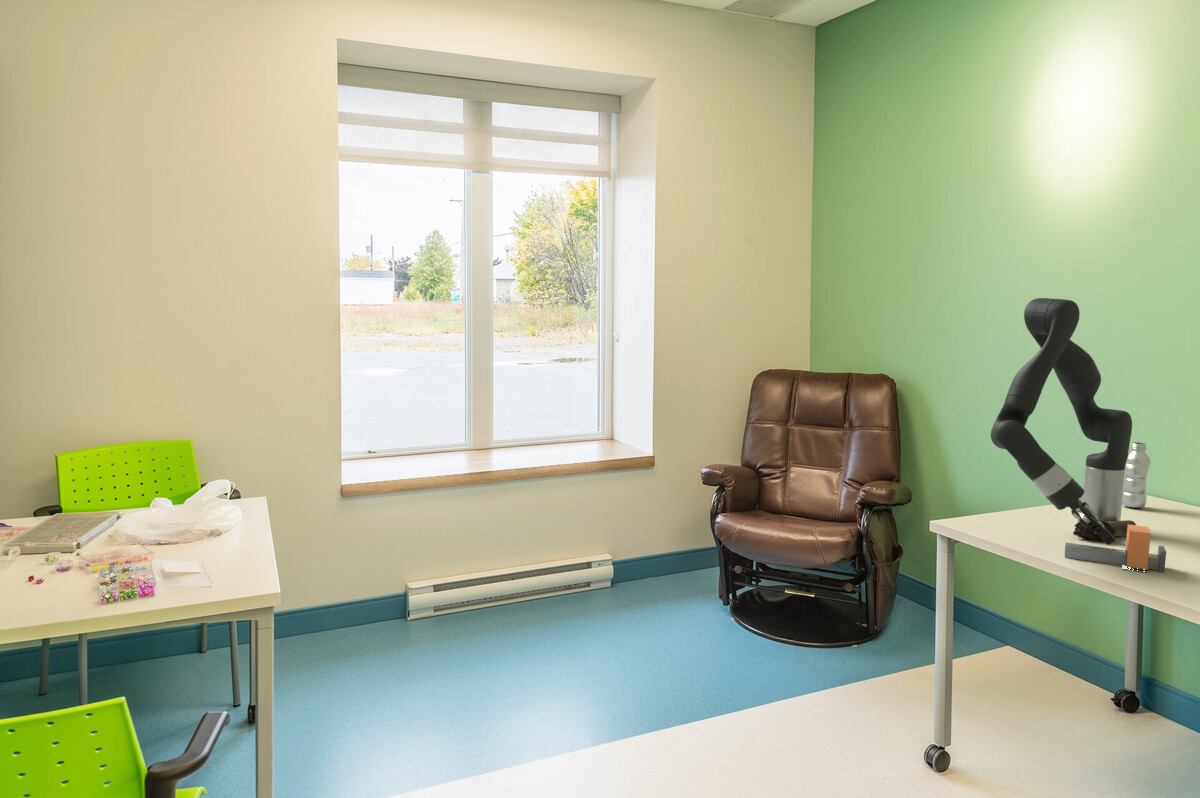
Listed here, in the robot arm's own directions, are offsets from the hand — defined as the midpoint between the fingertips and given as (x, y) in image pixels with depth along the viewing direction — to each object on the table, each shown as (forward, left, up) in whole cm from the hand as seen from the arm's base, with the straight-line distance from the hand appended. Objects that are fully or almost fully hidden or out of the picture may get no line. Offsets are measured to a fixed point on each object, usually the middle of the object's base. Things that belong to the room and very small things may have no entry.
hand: (1111, 542), depth 194 cm
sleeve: (+3, +4, -5) cm, 7 cm away
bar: (0, 0, -5) cm, 5 cm away
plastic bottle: (-44, +52, -5) cm, 69 cm away
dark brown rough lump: (-18, +16, -5) cm, 25 cm away
